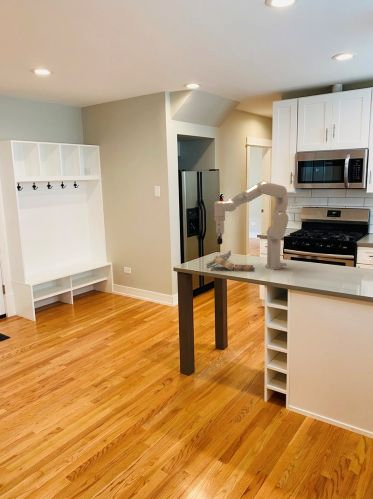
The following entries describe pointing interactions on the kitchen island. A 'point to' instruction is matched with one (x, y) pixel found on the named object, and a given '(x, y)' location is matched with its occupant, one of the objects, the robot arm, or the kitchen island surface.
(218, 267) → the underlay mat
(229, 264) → the beige irregular flat piece
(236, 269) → the walnut plank
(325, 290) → the kitchen island surface
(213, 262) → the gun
